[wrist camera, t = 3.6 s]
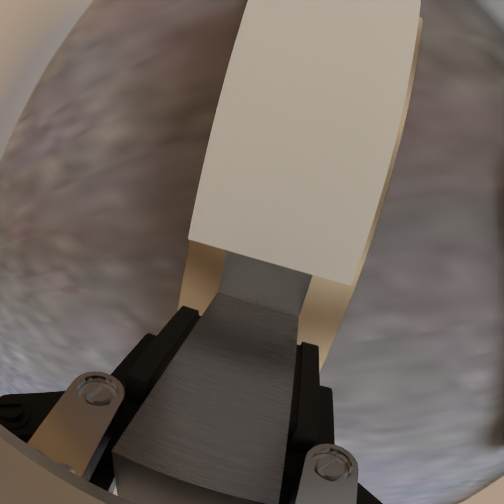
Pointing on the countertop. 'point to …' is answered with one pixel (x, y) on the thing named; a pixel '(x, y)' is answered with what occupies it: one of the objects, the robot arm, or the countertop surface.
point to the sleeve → (306, 132)
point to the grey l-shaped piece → (221, 398)
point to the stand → (320, 289)
